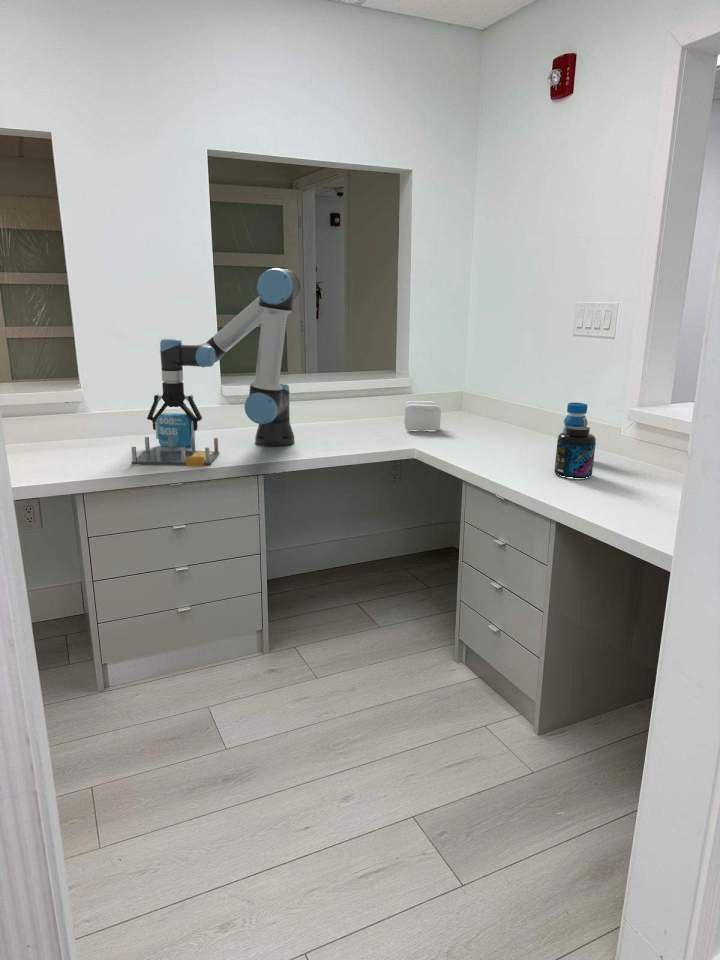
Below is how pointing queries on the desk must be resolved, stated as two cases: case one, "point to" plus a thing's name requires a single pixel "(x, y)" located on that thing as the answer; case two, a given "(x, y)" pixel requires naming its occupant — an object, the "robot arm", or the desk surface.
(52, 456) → the desk surface
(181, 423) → the data package
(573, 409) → the beverage bottle
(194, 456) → the panel rack
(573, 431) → the container
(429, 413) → the cable organizer
